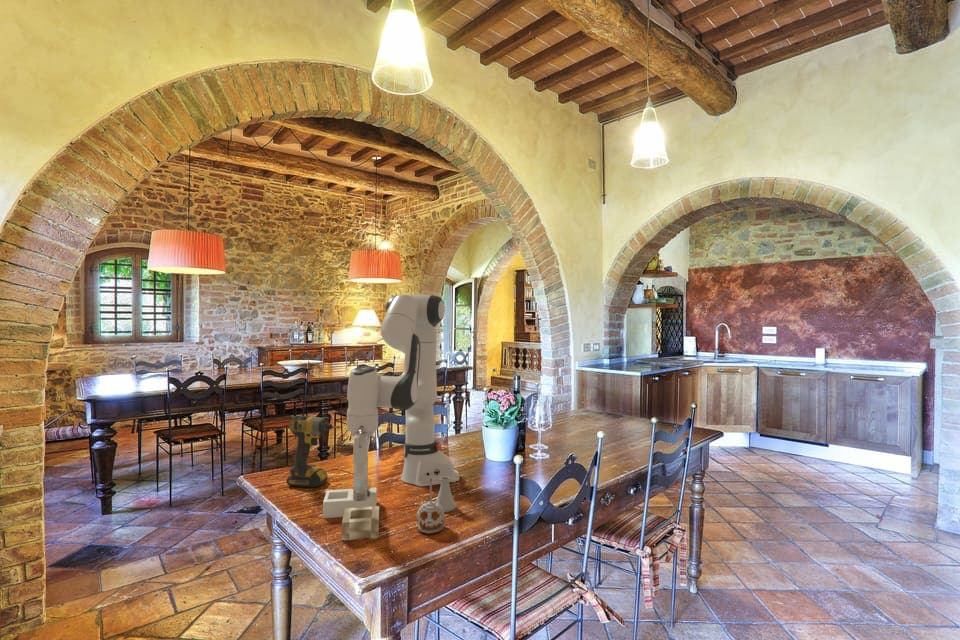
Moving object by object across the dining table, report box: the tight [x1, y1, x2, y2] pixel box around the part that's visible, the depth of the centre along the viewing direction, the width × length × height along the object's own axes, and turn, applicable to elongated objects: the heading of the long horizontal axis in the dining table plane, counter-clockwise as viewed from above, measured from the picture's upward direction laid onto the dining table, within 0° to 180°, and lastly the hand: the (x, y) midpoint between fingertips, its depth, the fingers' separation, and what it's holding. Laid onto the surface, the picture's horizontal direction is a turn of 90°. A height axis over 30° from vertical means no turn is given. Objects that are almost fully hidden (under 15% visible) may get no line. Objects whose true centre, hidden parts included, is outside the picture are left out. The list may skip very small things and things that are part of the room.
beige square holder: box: [341, 505, 380, 541], centre depth 137 cm, size 10×10×5 cm
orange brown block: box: [367, 478, 372, 497], centre depth 153 cm, size 4×6×7 cm
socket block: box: [322, 486, 378, 519], centre depth 152 cm, size 16×10×5 cm, turn 101°
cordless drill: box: [286, 414, 342, 488], centre depth 174 cm, size 9×20×25 cm, turn 78°
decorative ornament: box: [416, 478, 445, 534], centre depth 139 cm, size 8×8×15 cm
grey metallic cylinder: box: [352, 456, 369, 501], centre depth 137 cm, size 4×4×12 cm
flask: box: [435, 476, 457, 513], centre depth 154 cm, size 7×7×10 cm
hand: (361, 470), depth 137 cm, fingers closed on grey metallic cylinder, 4 cm apart
